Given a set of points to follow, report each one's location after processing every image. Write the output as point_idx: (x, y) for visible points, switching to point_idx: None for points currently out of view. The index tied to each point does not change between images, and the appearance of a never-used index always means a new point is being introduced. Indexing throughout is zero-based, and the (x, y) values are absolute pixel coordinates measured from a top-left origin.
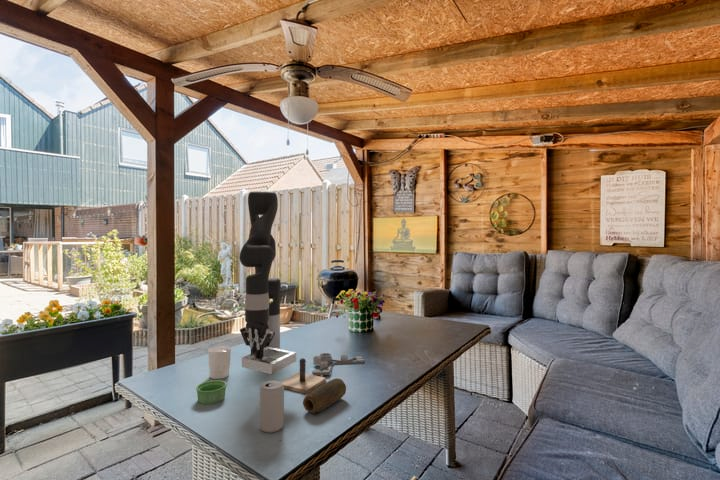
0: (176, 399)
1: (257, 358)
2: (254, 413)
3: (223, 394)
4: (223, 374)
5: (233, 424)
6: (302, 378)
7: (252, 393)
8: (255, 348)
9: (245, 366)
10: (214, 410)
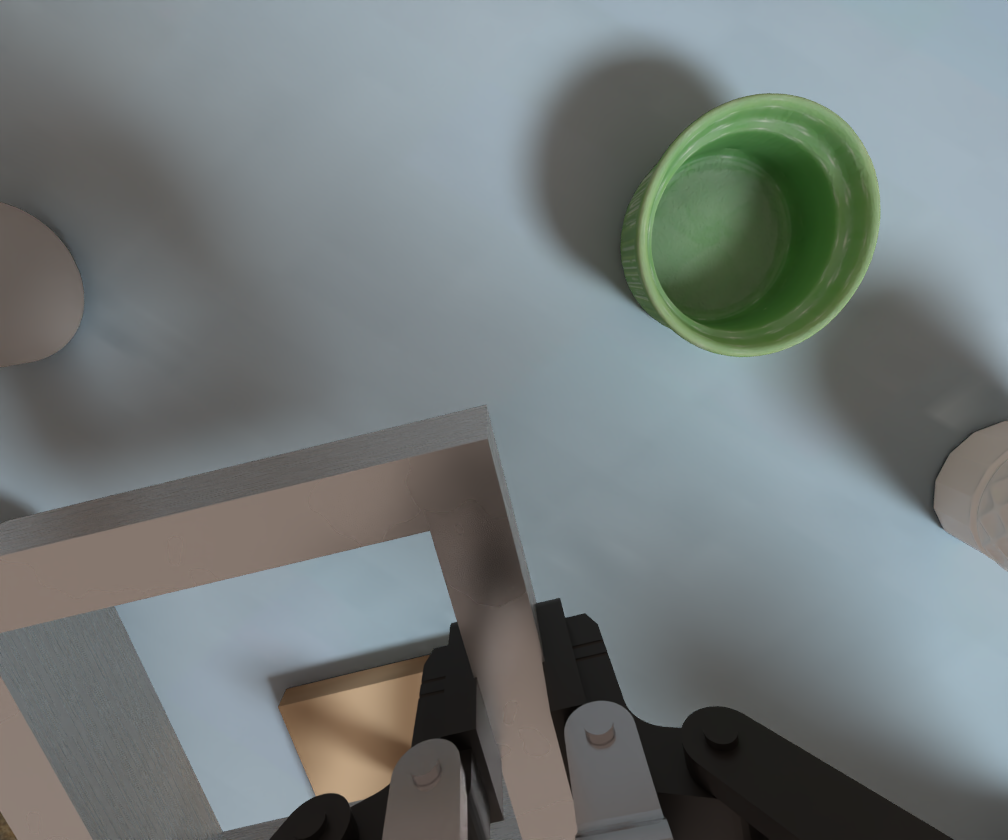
0: (914, 48)
1: (456, 635)
2: (279, 322)
3: (637, 292)
4: (956, 487)
5: (234, 134)
6: None
7: (555, 477)
8: (562, 752)
9: (423, 425)
10: (524, 156)
